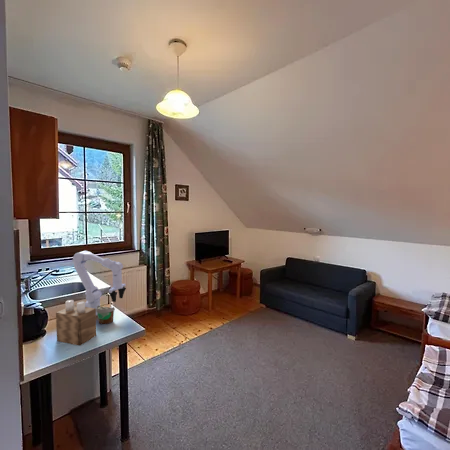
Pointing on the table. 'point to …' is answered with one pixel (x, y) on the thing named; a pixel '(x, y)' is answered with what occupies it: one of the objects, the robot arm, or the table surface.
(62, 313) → the wooden bottle crate
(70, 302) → the tumblers
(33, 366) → the table surface
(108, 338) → the table surface
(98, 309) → the food container
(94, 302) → the robot arm
